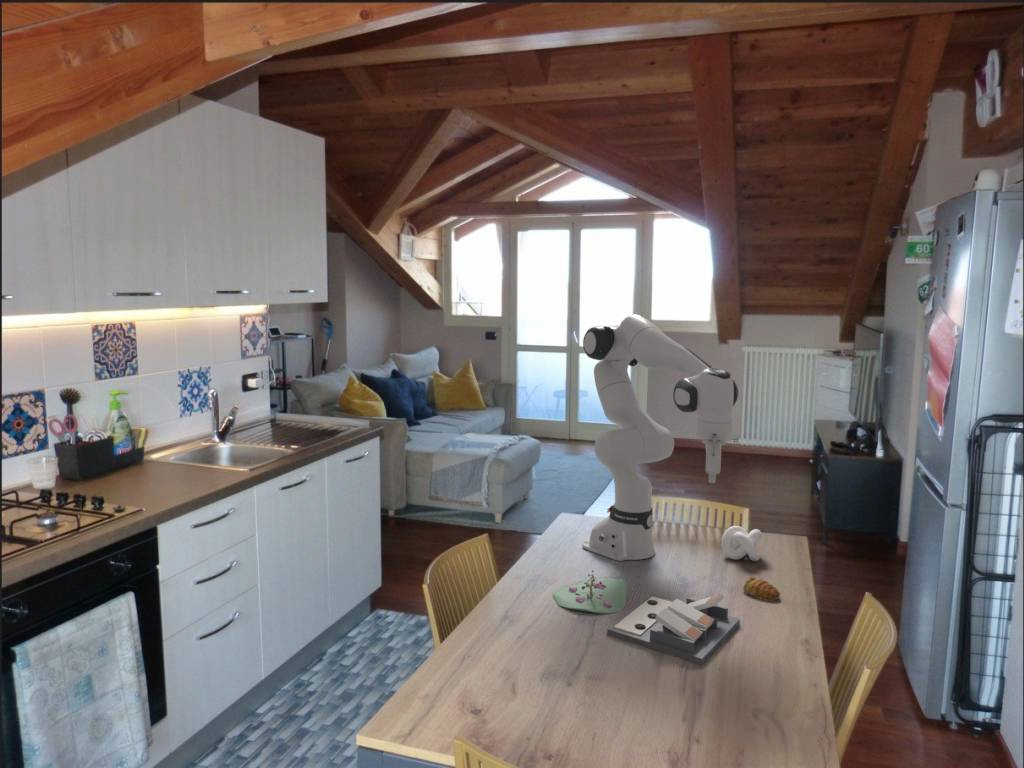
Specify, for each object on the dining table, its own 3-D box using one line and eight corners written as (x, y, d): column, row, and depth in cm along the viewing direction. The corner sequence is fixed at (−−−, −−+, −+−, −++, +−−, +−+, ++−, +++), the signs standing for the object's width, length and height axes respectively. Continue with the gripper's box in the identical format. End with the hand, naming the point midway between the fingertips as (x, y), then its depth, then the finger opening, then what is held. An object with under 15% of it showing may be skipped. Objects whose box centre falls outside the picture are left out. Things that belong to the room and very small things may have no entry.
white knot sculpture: (771, 564, 230) (773, 535, 229) (733, 567, 228) (734, 538, 227) (754, 550, 241) (755, 523, 240) (717, 552, 240) (718, 525, 238)
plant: (577, 572, 225) (577, 543, 224) (646, 586, 216) (647, 555, 215) (541, 606, 203) (541, 574, 202) (616, 623, 194) (617, 589, 193)
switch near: (654, 619, 182) (656, 614, 181) (663, 611, 186) (665, 607, 185) (692, 644, 177) (694, 640, 176) (700, 636, 181) (702, 631, 180)
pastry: (785, 597, 208) (785, 584, 208) (771, 605, 204) (771, 591, 203) (754, 586, 215) (755, 573, 215) (740, 593, 211) (740, 580, 211)
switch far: (681, 615, 193) (679, 610, 193) (690, 607, 197) (687, 602, 197) (716, 605, 187) (714, 600, 187) (724, 598, 191) (721, 592, 191)
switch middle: (666, 610, 187) (668, 605, 187) (675, 602, 191) (677, 598, 191) (704, 631, 182) (706, 626, 182) (712, 623, 186) (714, 618, 186)
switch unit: (606, 634, 187) (607, 619, 186) (650, 599, 206) (651, 585, 206) (702, 665, 173) (702, 648, 172) (739, 624, 192) (740, 609, 192)
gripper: (727, 440, 194) (724, 493, 196) (726, 423, 213) (723, 472, 215) (701, 438, 195) (699, 491, 197) (702, 422, 215) (700, 470, 217)
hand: (712, 481), depth 207 cm, fingers closed
